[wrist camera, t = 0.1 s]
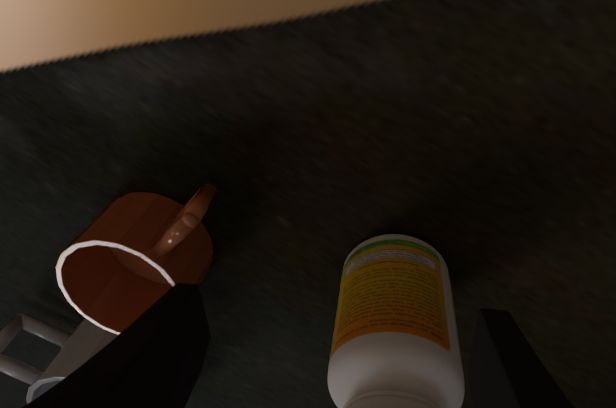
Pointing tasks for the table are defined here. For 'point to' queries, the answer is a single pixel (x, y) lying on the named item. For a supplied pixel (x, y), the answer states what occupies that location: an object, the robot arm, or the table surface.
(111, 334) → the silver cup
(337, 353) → the supplement bottle
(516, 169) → the table surface
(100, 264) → the copper cup
